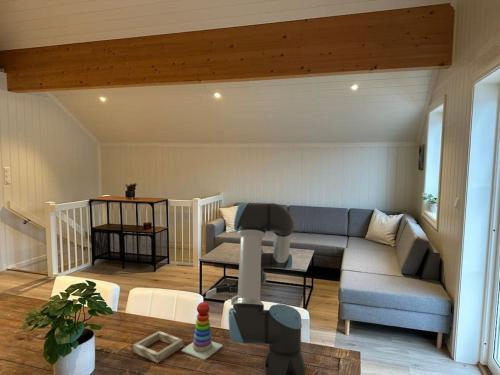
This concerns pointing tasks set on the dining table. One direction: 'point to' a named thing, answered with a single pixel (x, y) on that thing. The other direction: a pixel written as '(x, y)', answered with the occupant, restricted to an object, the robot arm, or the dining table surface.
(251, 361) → the dining table surface
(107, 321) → the dining table surface
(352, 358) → the dining table surface
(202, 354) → the sage mat
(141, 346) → the birch holder
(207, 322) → the stacking toy
